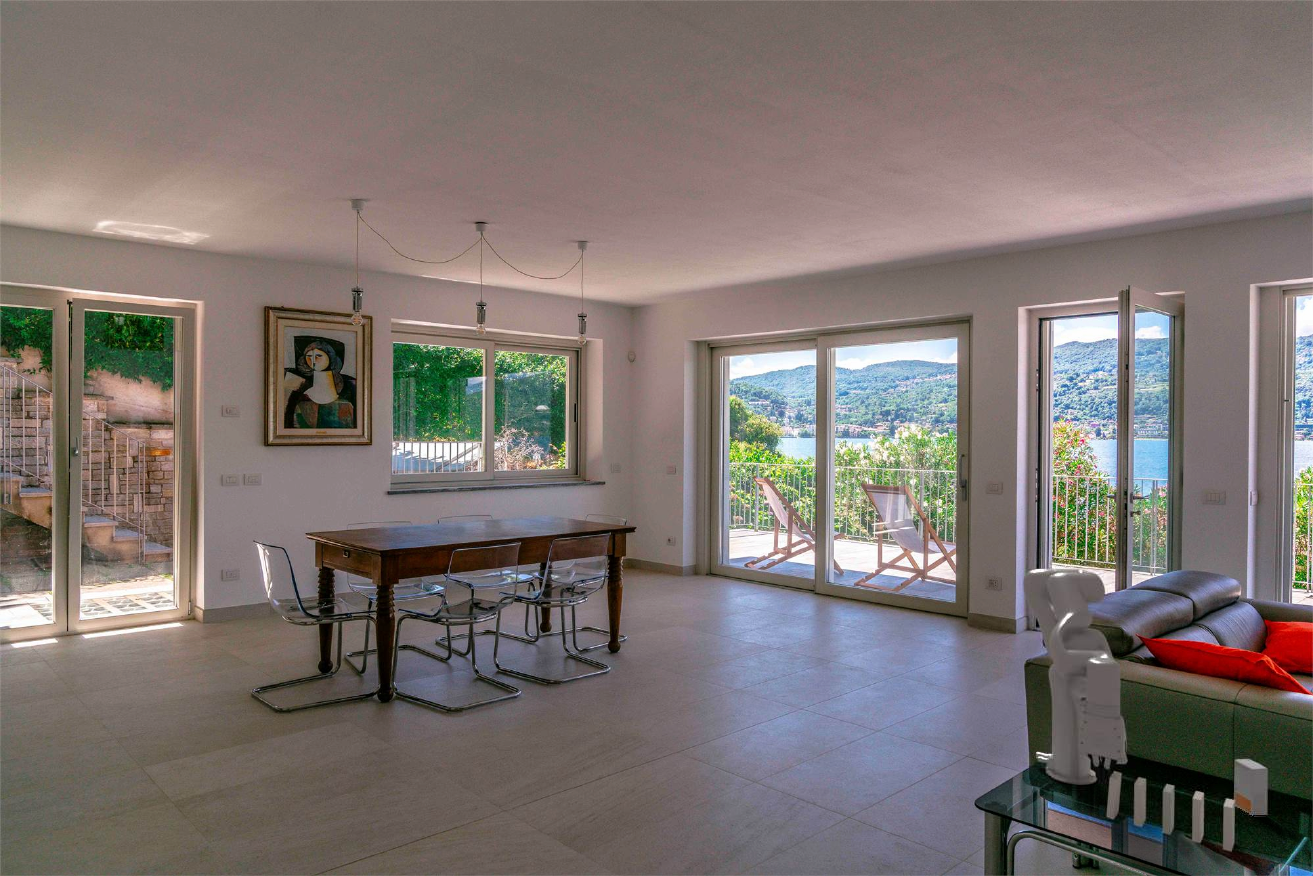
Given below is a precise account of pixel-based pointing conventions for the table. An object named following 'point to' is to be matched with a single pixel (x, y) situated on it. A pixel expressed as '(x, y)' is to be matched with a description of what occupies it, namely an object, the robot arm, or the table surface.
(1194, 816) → the domino
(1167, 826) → the domino
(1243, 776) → the skincare box
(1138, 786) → the domino
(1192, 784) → the table surface
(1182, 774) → the table surface
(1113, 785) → the domino
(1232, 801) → the domino
